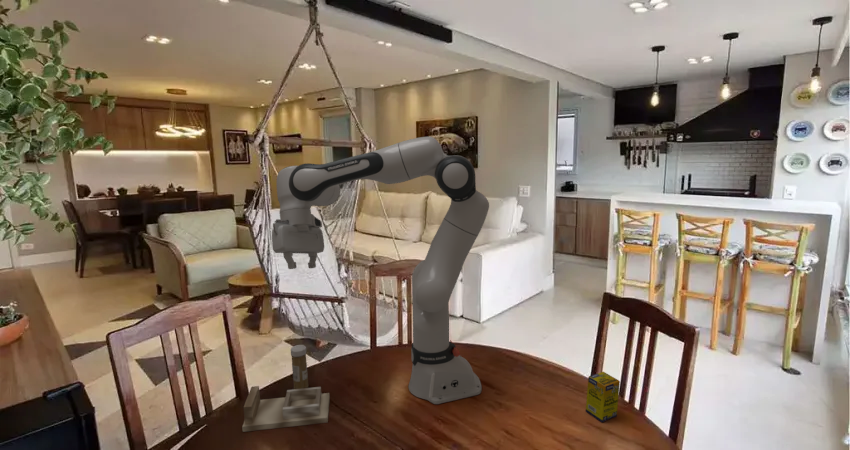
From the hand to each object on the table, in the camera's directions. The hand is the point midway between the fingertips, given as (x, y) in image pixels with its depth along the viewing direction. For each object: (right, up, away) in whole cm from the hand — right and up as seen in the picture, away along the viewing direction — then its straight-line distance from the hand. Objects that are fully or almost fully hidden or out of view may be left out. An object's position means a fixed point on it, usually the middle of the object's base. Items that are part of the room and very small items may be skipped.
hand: (302, 268), depth 126 cm
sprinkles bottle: (-3, -38, +10) cm, 40 cm away
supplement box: (+84, -40, -4) cm, 94 cm away
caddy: (-3, -41, -3) cm, 41 cm away
